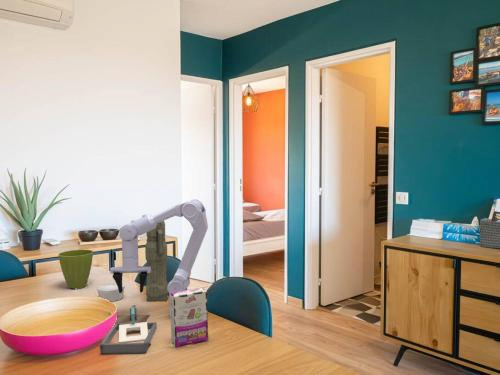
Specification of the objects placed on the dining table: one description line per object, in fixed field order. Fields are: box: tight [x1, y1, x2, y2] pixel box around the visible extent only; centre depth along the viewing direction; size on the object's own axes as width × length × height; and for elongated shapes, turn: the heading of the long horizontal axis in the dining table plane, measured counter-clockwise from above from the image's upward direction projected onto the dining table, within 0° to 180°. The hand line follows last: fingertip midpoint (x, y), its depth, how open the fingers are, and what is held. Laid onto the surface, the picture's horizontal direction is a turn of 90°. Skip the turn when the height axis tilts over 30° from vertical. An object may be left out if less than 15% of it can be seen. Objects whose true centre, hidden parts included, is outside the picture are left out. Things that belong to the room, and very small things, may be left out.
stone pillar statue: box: [144, 220, 169, 303], centre depth 177 cm, size 9×12×35 cm
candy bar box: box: [169, 287, 209, 348], centre depth 137 cm, size 11×5×16 cm, turn 117°
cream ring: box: [118, 306, 149, 343], centre depth 140 cm, size 12×9×5 cm
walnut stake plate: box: [114, 314, 151, 326], centre depth 152 cm, size 14×12×1 cm
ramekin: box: [96, 282, 126, 302], centre depth 181 cm, size 11×11×5 cm
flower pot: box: [57, 249, 94, 289], centre depth 198 cm, size 15×15×16 cm
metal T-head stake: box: [129, 304, 138, 321], centre depth 153 cm, size 2×4×5 cm, turn 2°
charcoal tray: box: [99, 321, 157, 355], centre depth 137 cm, size 14×17×3 cm
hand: (131, 292), depth 159 cm, fingers open, 7 cm apart
